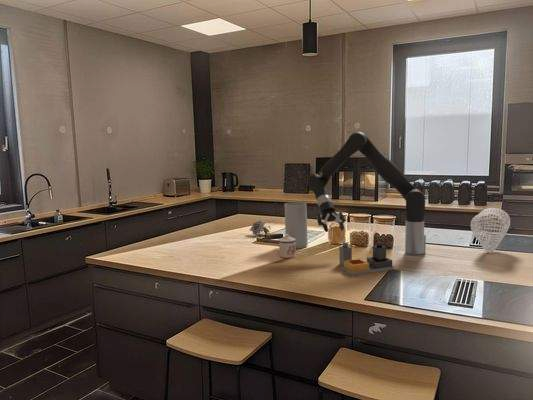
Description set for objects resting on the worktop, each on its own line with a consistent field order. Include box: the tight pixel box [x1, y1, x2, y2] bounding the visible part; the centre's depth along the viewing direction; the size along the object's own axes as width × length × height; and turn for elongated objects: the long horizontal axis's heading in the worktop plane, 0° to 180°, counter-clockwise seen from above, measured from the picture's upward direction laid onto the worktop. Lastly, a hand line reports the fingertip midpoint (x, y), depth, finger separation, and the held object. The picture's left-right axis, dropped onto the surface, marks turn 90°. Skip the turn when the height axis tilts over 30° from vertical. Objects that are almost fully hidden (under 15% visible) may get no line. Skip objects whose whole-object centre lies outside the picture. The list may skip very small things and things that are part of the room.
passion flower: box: [248, 219, 271, 237], centre depth 276 cm, size 11×11×12 cm
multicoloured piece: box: [341, 241, 395, 276], centre depth 195 cm, size 22×9×12 cm, turn 105°
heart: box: [470, 207, 511, 254], centre depth 213 cm, size 28×16×22 cm, turn 142°
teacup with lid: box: [278, 233, 297, 259], centre depth 225 cm, size 12×9×12 cm
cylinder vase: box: [284, 201, 309, 250], centre depth 242 cm, size 12×12×25 cm
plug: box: [338, 241, 353, 267], centre depth 204 cm, size 4×4×11 cm
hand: (335, 230), depth 214 cm, fingers open, 8 cm apart
